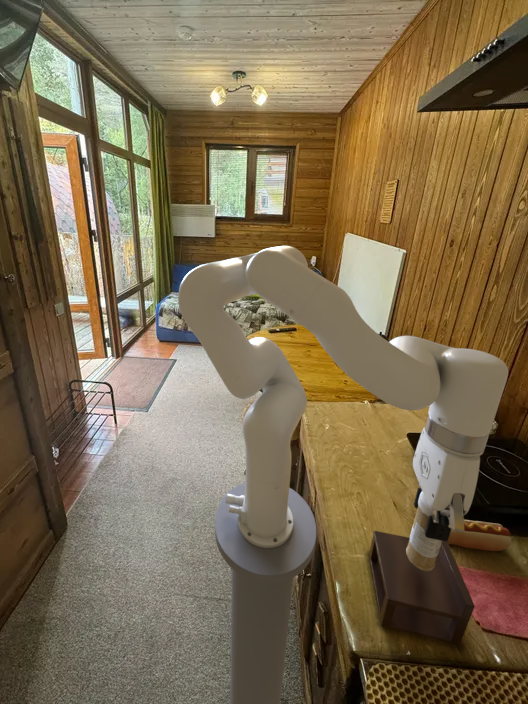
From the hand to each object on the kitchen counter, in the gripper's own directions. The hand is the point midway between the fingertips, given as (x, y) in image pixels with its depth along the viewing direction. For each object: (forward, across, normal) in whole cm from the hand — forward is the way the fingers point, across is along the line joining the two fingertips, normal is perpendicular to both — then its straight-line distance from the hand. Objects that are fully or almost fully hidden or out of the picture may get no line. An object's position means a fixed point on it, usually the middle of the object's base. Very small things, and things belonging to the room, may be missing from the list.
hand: (429, 521), depth 51 cm
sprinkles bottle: (+9, 0, 0) cm, 9 cm away
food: (+19, -14, +16) cm, 28 cm away
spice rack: (+18, 0, 0) cm, 18 cm away
